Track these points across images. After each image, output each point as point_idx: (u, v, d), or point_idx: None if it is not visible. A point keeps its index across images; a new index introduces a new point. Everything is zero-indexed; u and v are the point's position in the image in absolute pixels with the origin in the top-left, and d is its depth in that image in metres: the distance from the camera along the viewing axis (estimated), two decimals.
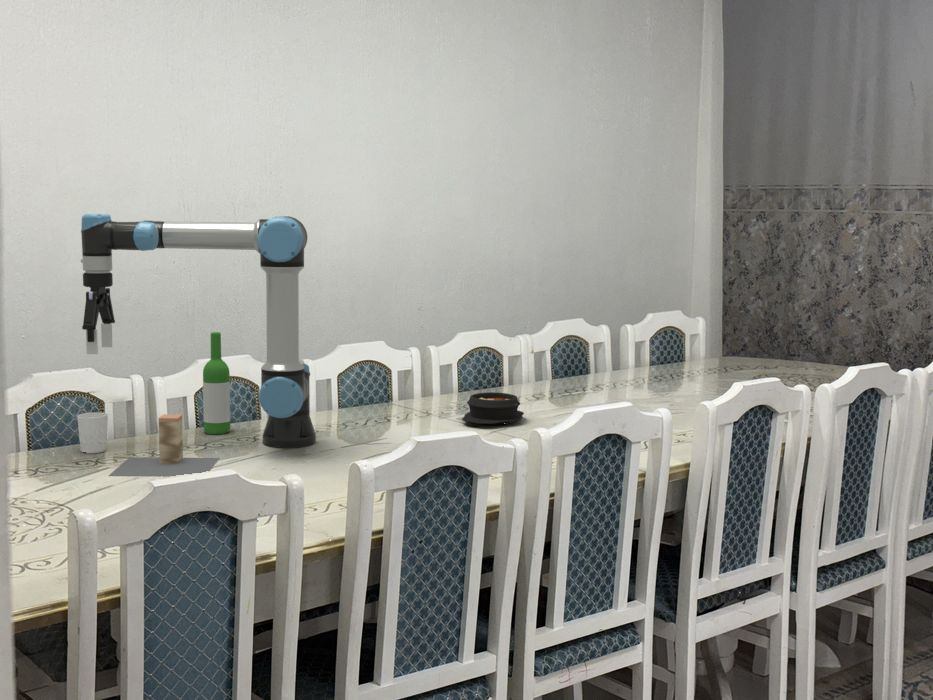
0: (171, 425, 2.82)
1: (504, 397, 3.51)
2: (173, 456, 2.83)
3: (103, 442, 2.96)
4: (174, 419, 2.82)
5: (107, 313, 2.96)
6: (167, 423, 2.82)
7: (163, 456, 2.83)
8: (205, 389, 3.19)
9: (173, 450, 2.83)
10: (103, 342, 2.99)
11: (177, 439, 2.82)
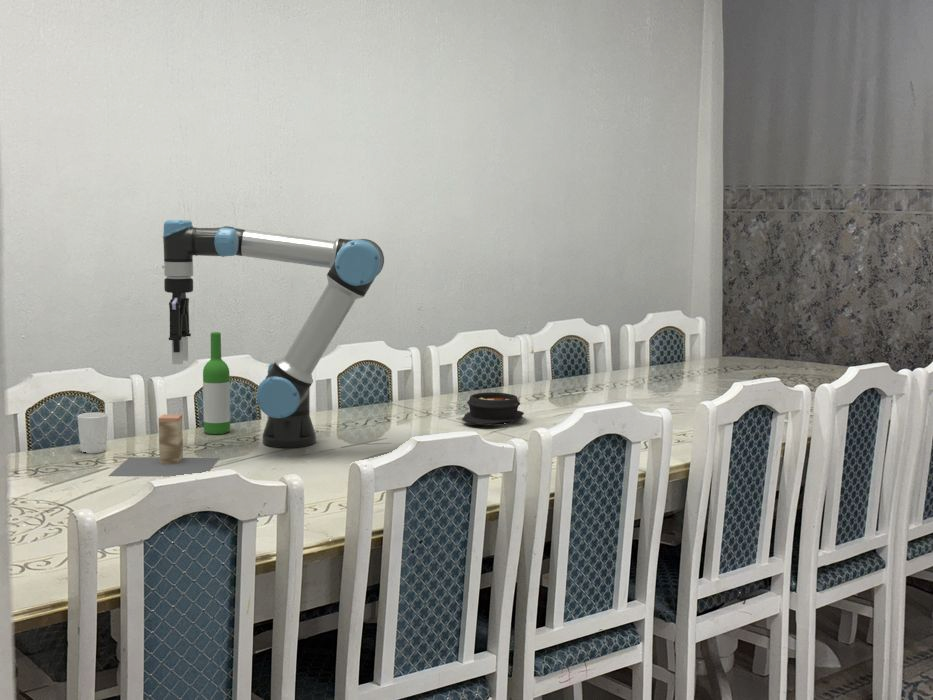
0: (171, 425, 2.82)
1: (504, 397, 3.51)
2: (173, 456, 2.83)
3: (103, 442, 2.96)
4: (174, 419, 2.82)
5: (185, 323, 2.96)
6: (167, 423, 2.82)
7: (163, 456, 2.83)
8: (205, 389, 3.19)
9: (173, 450, 2.83)
10: None
11: (177, 439, 2.82)
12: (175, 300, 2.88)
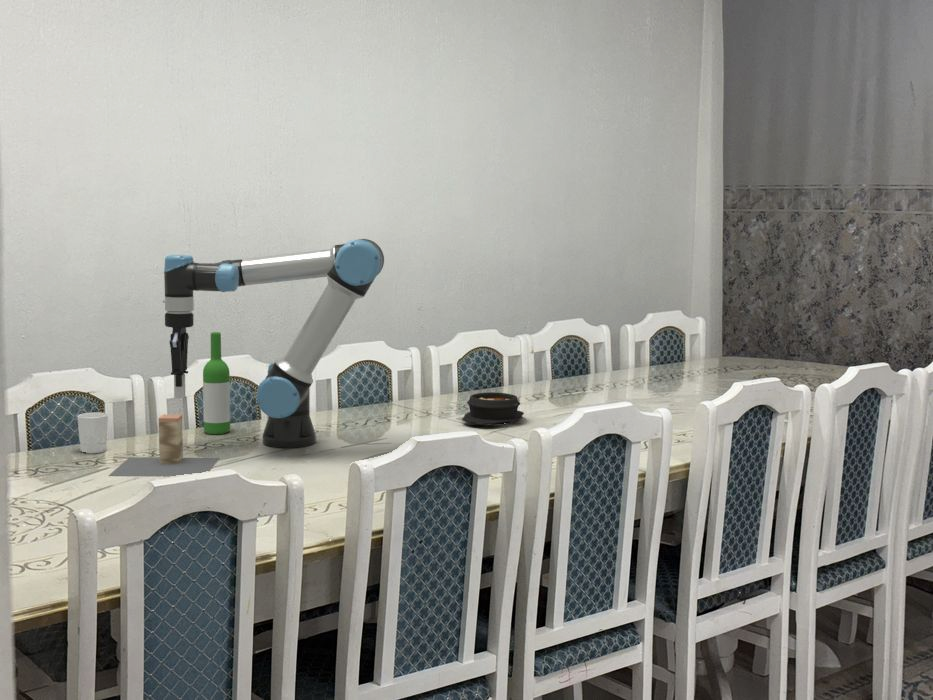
0: (171, 425, 2.82)
1: (504, 397, 3.51)
2: (173, 456, 2.83)
3: (103, 442, 2.96)
4: (174, 419, 2.82)
5: (183, 358, 2.96)
6: (167, 423, 2.82)
7: (163, 456, 2.83)
8: (205, 389, 3.19)
9: (173, 450, 2.83)
10: None
11: (177, 439, 2.82)
12: (175, 337, 2.90)
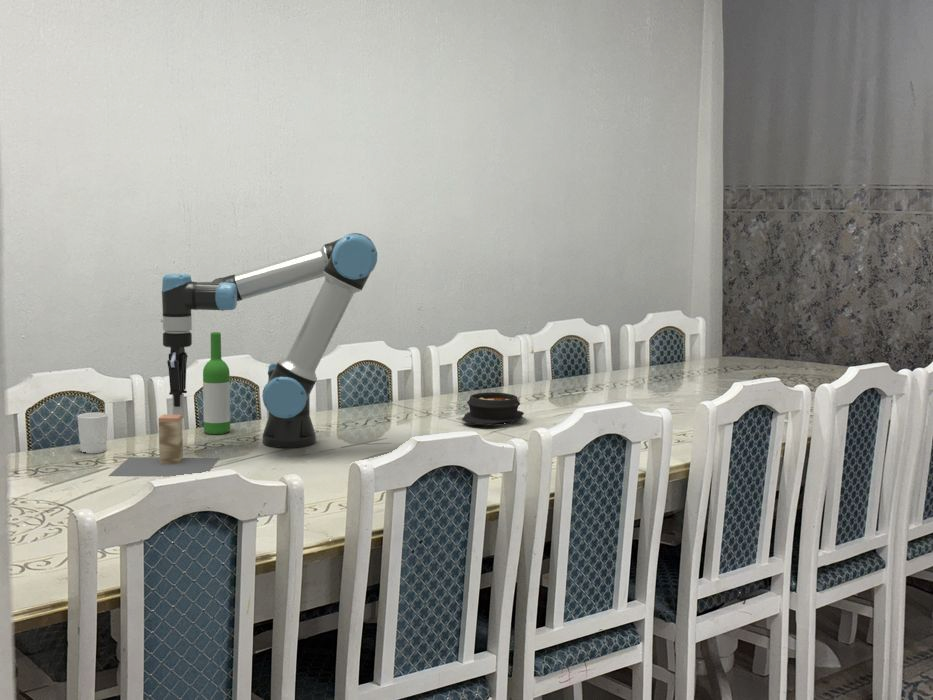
0: (171, 425, 2.82)
1: (504, 397, 3.51)
2: (173, 456, 2.83)
3: (103, 442, 2.96)
4: (174, 419, 2.82)
5: (181, 378, 2.94)
6: (167, 423, 2.82)
7: (163, 456, 2.83)
8: (205, 389, 3.19)
9: (173, 450, 2.83)
10: None
11: (177, 439, 2.82)
12: (173, 357, 2.87)
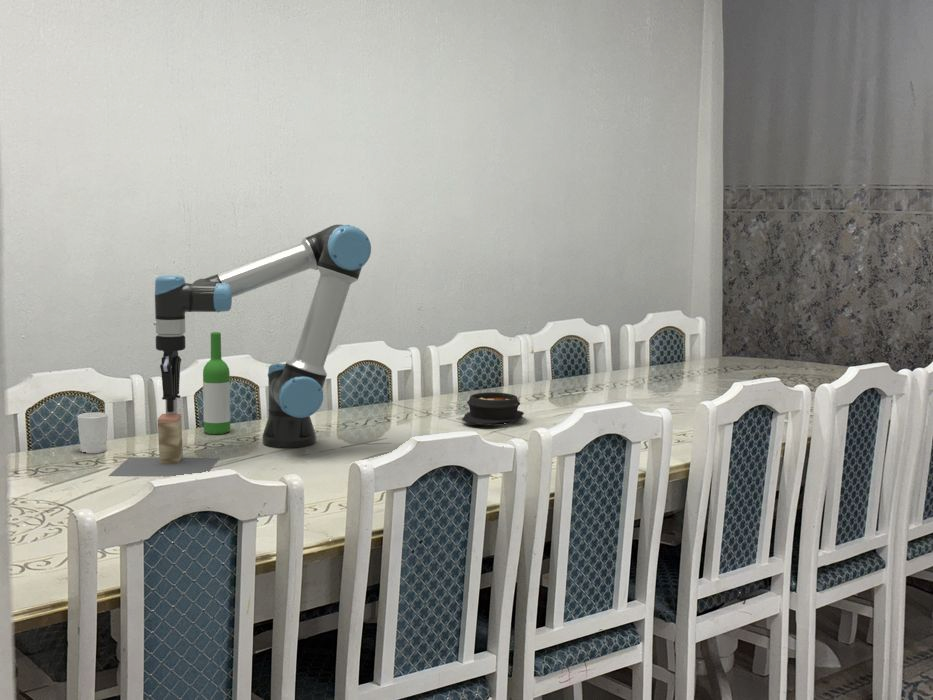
0: (170, 426, 2.81)
1: (504, 397, 3.51)
2: (173, 456, 2.83)
3: (103, 442, 2.96)
4: (173, 420, 2.81)
5: (175, 382, 2.86)
6: (166, 424, 2.81)
7: (163, 457, 2.83)
8: (205, 389, 3.19)
9: (173, 450, 2.82)
10: None
11: (177, 440, 2.82)
12: (166, 361, 2.80)
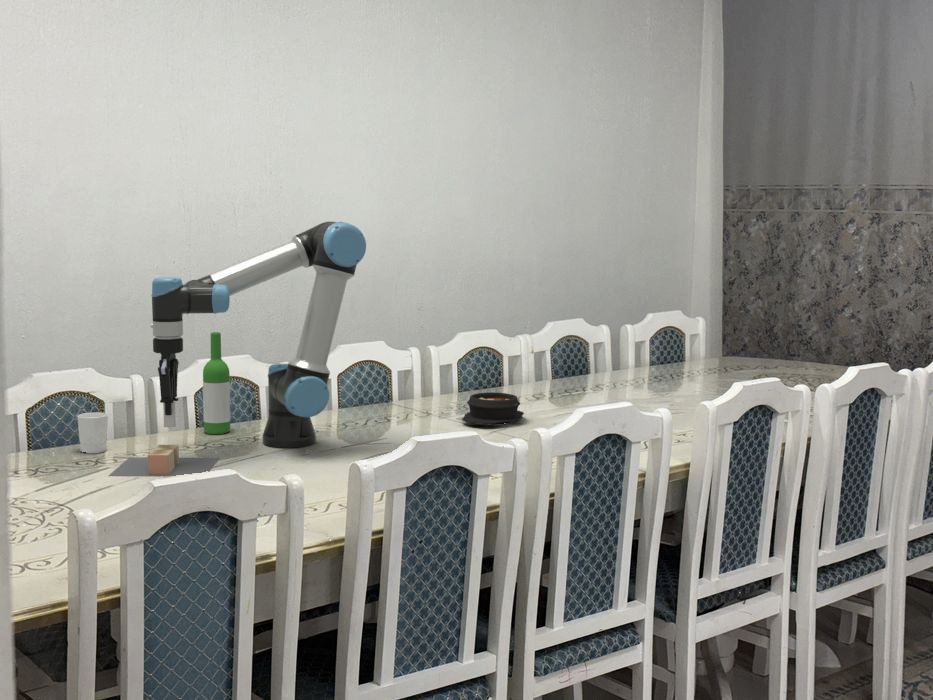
0: None
1: (504, 397, 3.51)
2: None
3: (103, 442, 2.96)
4: (164, 474, 2.72)
5: (173, 385, 2.83)
6: None
7: None
8: (205, 389, 3.19)
9: None
10: None
11: (172, 469, 2.77)
12: (164, 363, 2.76)
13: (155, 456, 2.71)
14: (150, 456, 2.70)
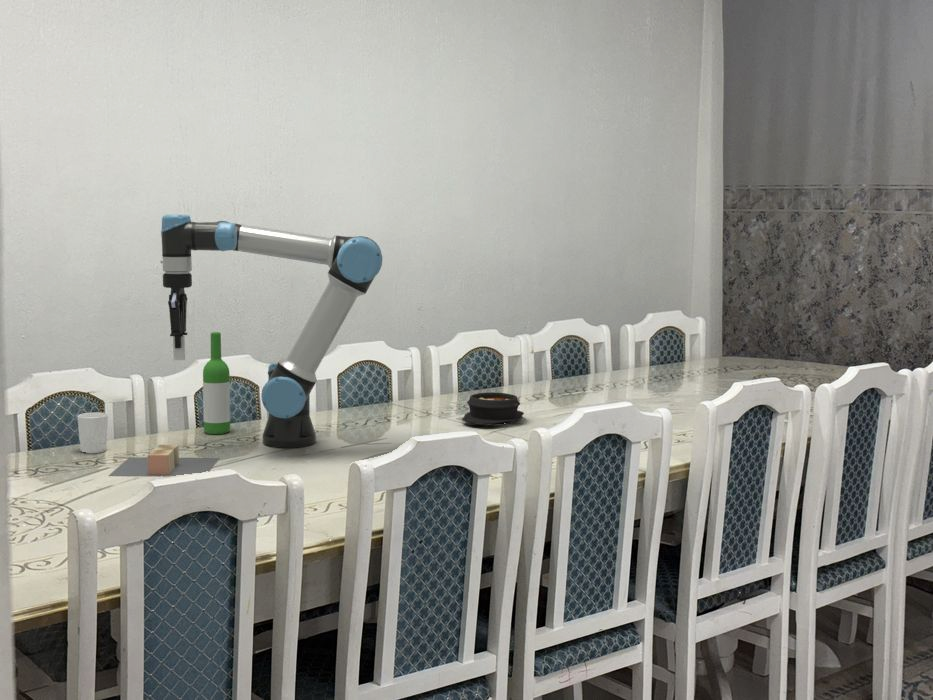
0: None
1: (504, 397, 3.51)
2: None
3: (103, 442, 2.96)
4: (164, 474, 2.72)
5: (182, 319, 2.92)
6: None
7: None
8: (205, 389, 3.19)
9: None
10: None
11: (172, 469, 2.77)
12: (174, 297, 2.86)
13: (155, 456, 2.71)
14: (150, 456, 2.70)
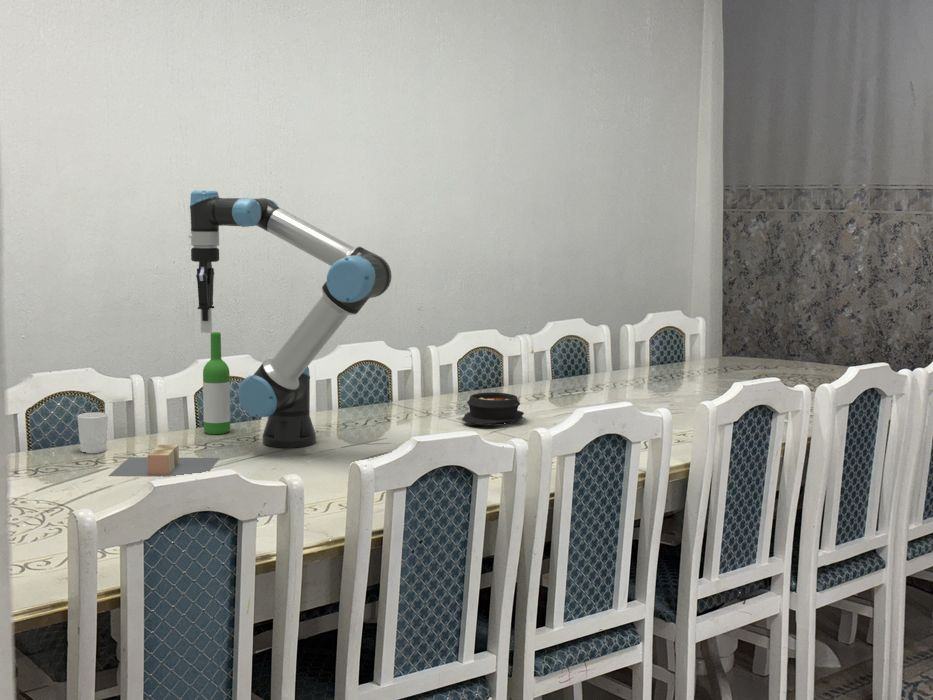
0: None
1: (504, 397, 3.51)
2: None
3: (103, 442, 2.96)
4: (164, 474, 2.72)
5: (209, 293, 3.00)
6: None
7: None
8: (205, 389, 3.19)
9: None
10: None
11: (172, 469, 2.77)
12: (202, 271, 2.93)
13: (155, 456, 2.71)
14: (150, 456, 2.70)
